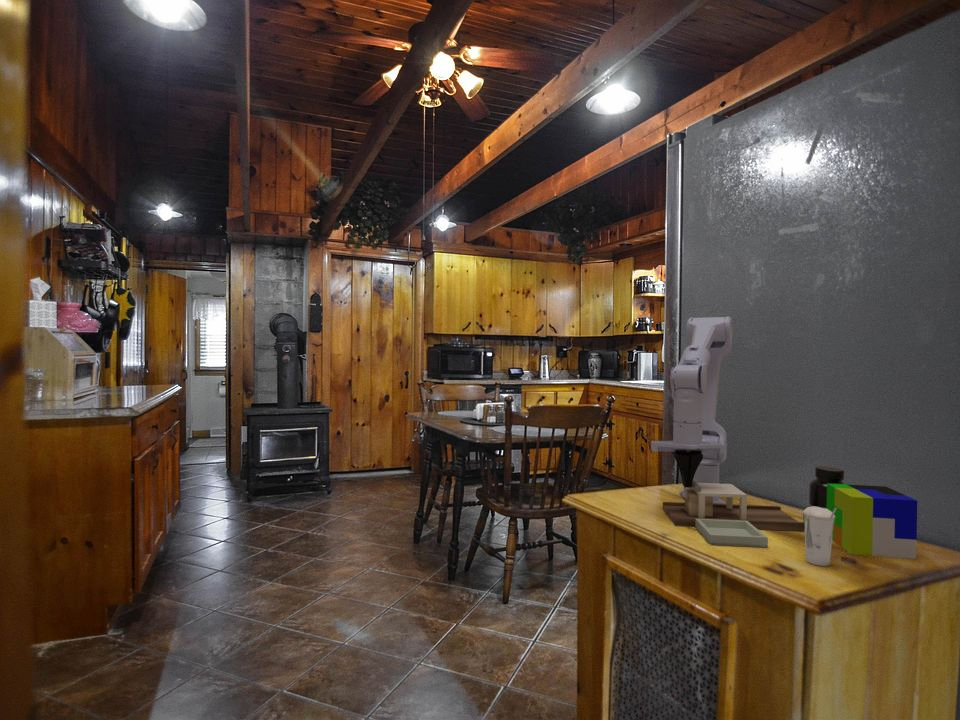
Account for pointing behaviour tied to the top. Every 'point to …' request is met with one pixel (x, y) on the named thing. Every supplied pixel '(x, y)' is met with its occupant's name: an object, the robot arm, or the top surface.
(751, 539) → the sage tray
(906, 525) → the puzzle toy
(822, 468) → the supplement bottle
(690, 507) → the maple block
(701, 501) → the cover
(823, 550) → the milkshake
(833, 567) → the top surface
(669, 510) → the board
